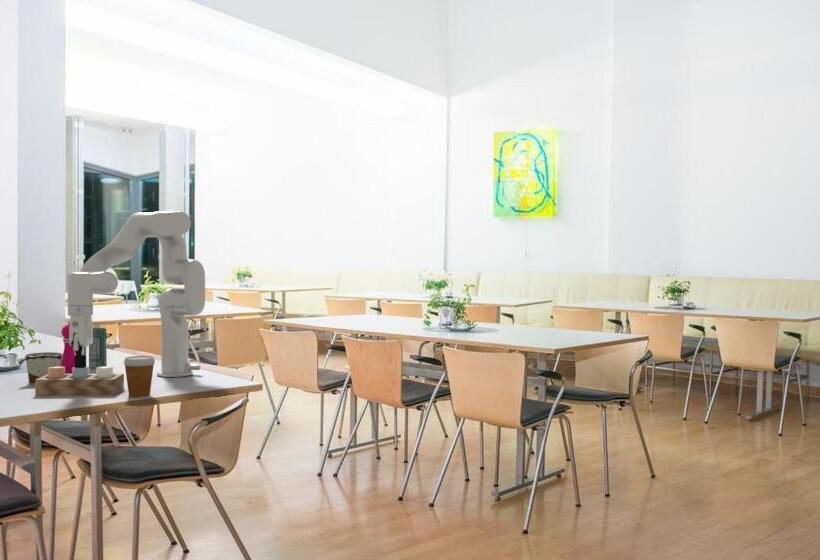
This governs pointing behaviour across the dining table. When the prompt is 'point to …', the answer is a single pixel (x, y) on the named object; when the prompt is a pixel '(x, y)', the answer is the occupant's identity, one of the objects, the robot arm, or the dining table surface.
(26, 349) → the dining table surface
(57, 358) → the food container
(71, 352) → the pepper mill
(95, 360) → the dark green cylinder
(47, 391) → the wooden egg rack
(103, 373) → the white egg
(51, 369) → the terracotta egg
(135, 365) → the disposable coffee cup
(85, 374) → the slate egg
